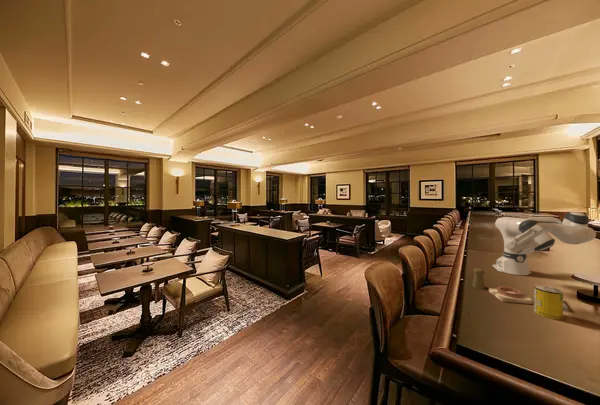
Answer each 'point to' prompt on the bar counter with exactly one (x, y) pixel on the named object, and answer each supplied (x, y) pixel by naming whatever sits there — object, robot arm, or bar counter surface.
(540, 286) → the yellow can
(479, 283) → the cork
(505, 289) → the square base with ring
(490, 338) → the bar counter surface
